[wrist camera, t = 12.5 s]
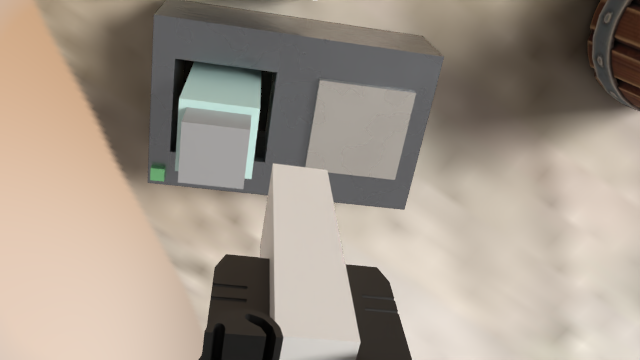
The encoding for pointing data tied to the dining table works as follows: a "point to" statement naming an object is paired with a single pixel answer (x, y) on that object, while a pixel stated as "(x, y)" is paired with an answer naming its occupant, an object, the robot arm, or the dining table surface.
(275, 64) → the port panel
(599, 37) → the mug
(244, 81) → the plug
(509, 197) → the dining table surface
